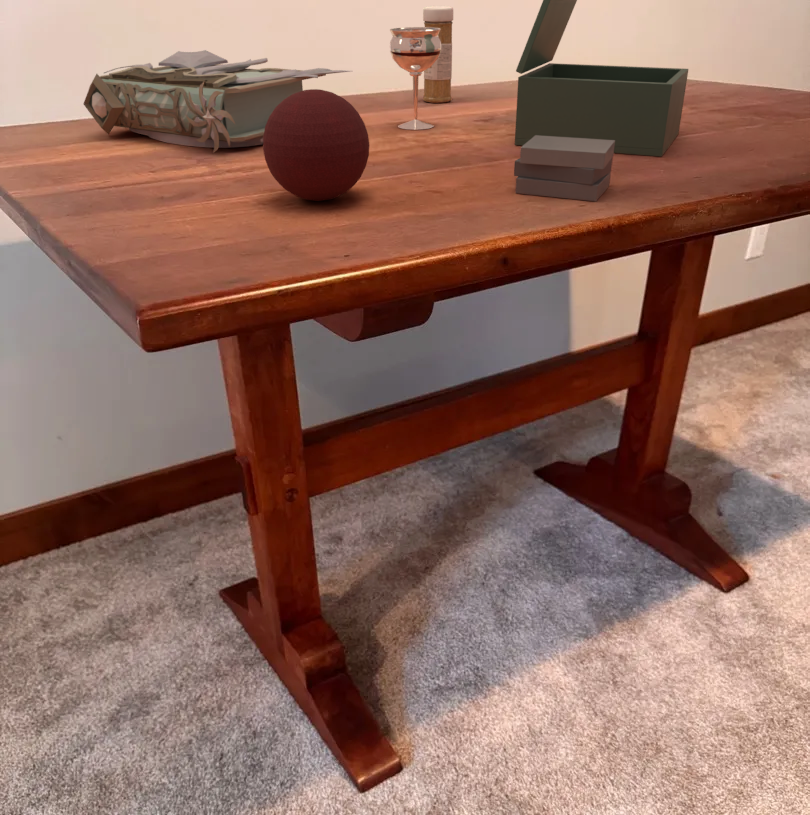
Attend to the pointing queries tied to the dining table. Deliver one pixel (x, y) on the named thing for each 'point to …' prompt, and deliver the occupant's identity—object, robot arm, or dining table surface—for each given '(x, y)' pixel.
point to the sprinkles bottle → (441, 70)
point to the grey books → (564, 167)
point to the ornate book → (195, 99)
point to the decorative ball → (316, 145)
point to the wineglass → (415, 59)
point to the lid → (546, 34)
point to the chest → (602, 105)
